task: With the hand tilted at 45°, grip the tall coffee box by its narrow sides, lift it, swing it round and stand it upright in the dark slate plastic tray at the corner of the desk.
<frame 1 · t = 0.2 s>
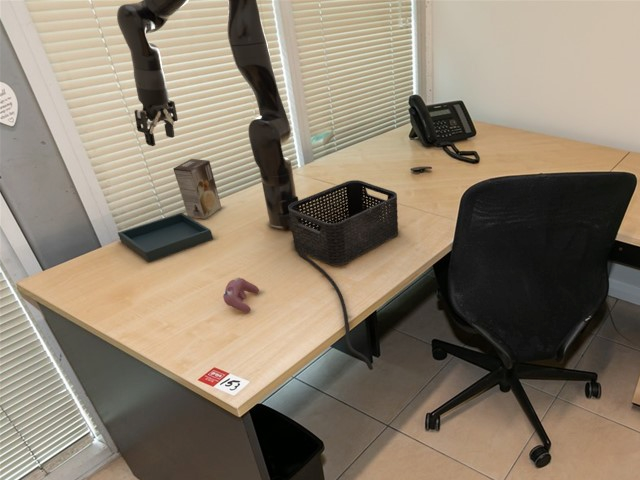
hand: (161, 140, 154), 22 cm above the table, tool pointing down, fingers open, 8 cm apart
video game controller: (243, 303, 128), on the table
storage bin: (348, 241, 157), on the table
coffee box: (205, 212, 167), on the table
tray: (167, 240, 151), on the table
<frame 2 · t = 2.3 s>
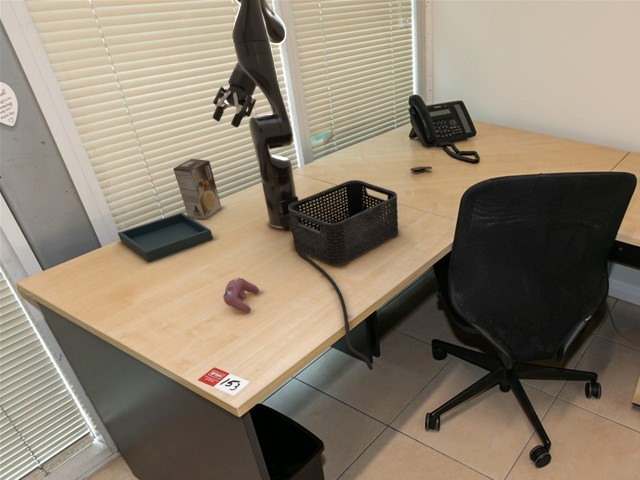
hand: (224, 123, 160), 26 cm above the table, tool tilted 40°, fingers open, 8 cm apart
nothing on the table moved.
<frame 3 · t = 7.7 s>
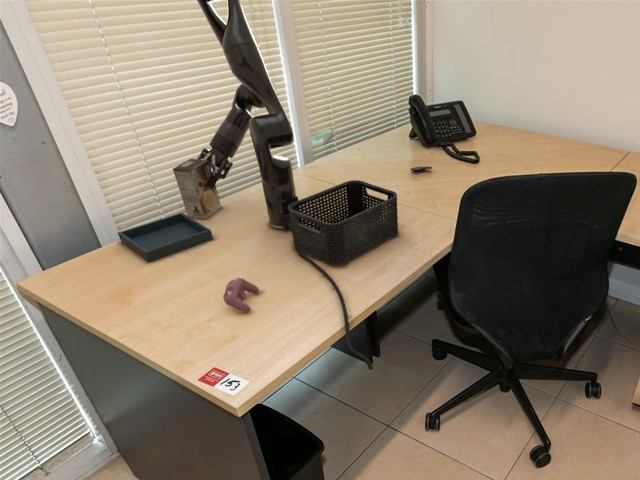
hand: (202, 183, 163), 9 cm above the table, tool tilted 45°, fingers closed on coffee box, 7 cm apart
coffee box: (205, 212, 167), on the table, touching gripper
everything else where it was.
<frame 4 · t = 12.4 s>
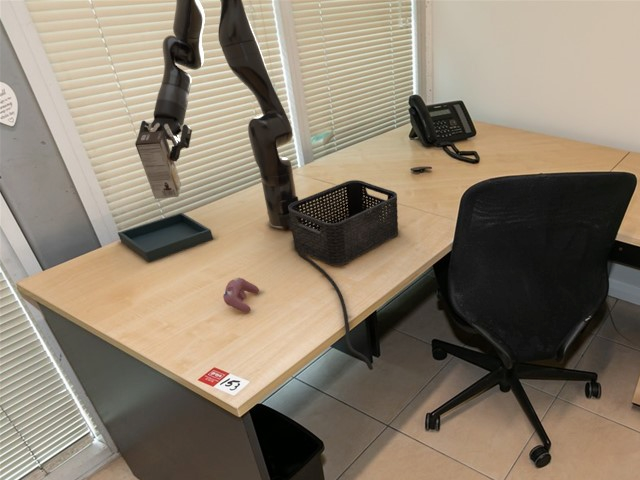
hand: (159, 158, 146), 21 cm above the table, tool tilted 45°, fingers closed on coffee box, 7 cm apart
coffee box: (168, 192, 150), point 12 cm above the table, touching gripper
everything else where it was.
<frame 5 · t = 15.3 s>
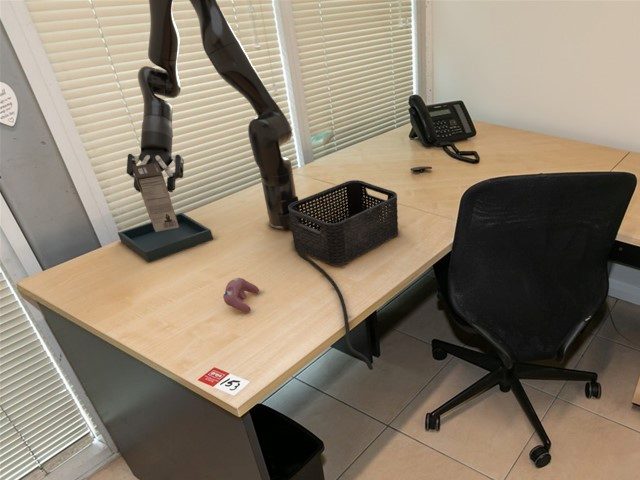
hand: (154, 191, 144), 15 cm above the table, tool tilted 45°, fingers closed on coffee box, 7 cm apart
coffee box: (165, 224, 148), point 5 cm above the table, touching gripper
everything else where it was.
when the fingers open (10 cm above the table, at t = 17.4 s): coffee box stays where it is, resting on tray.
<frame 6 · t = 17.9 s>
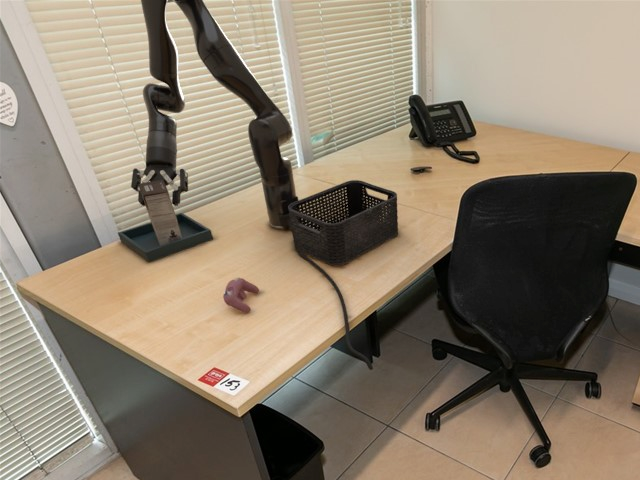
hand: (159, 204, 146), 10 cm above the table, tool tilted 45°, fingers open, 8 cm apart
coffee box: (170, 239, 151), resting on tray
everything else where it was.
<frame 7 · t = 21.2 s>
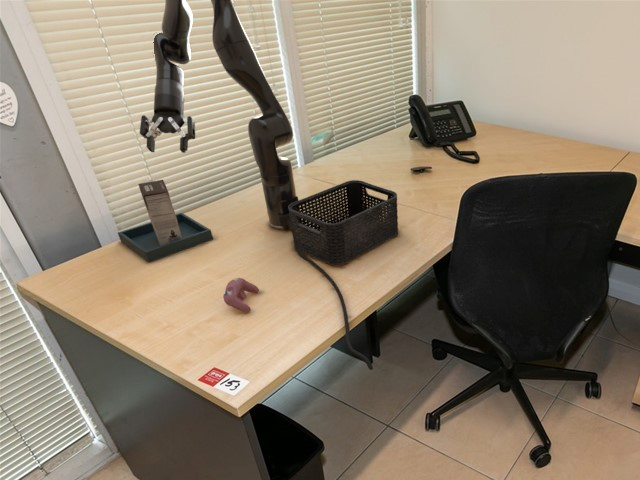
hand: (167, 151, 149), 22 cm above the table, tool tilted 45°, fingers open, 8 cm apart
nothing on the table moved.
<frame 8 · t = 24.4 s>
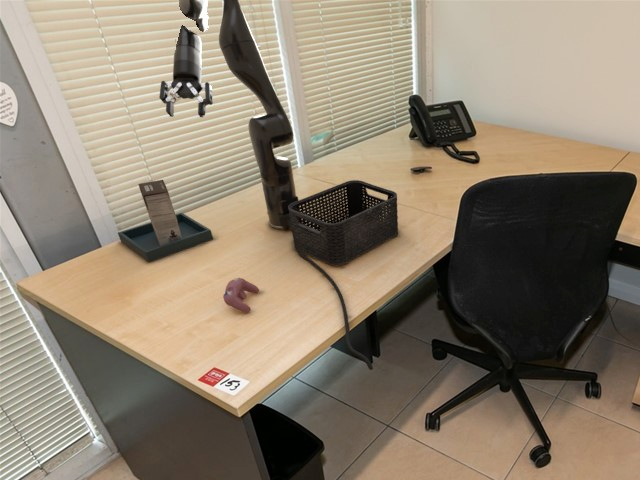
hand: (185, 115, 155), 29 cm above the table, tool tilted 45°, fingers open, 8 cm apart
nothing on the table moved.
at the end: coffee box inside the target area in the tray (0.8 cm from its centre), point 0.4 cm above the tray's base; coffee box tilted 0°; the gripper is holding nothing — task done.
